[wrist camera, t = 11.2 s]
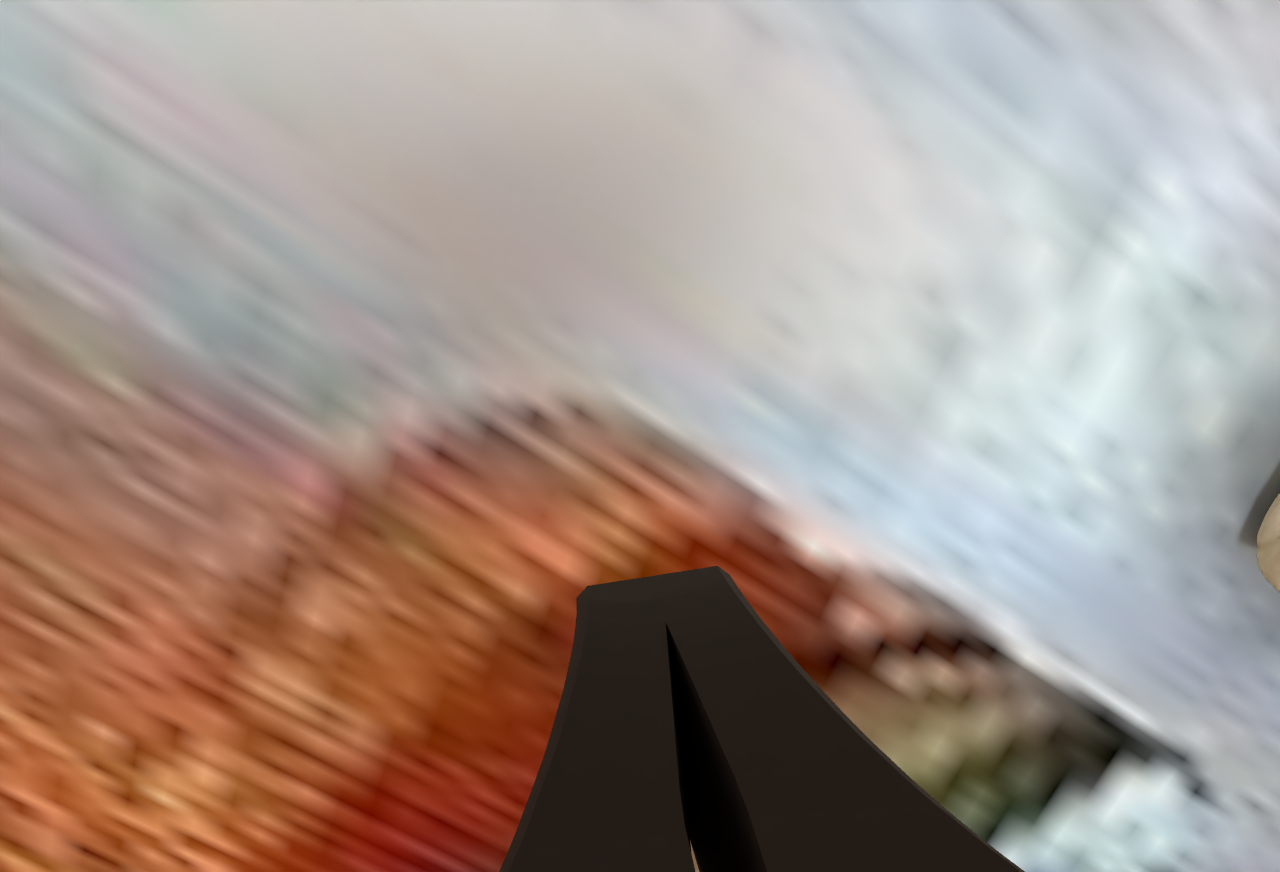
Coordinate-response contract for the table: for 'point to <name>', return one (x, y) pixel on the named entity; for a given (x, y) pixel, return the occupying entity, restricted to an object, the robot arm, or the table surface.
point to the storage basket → (1270, 545)
